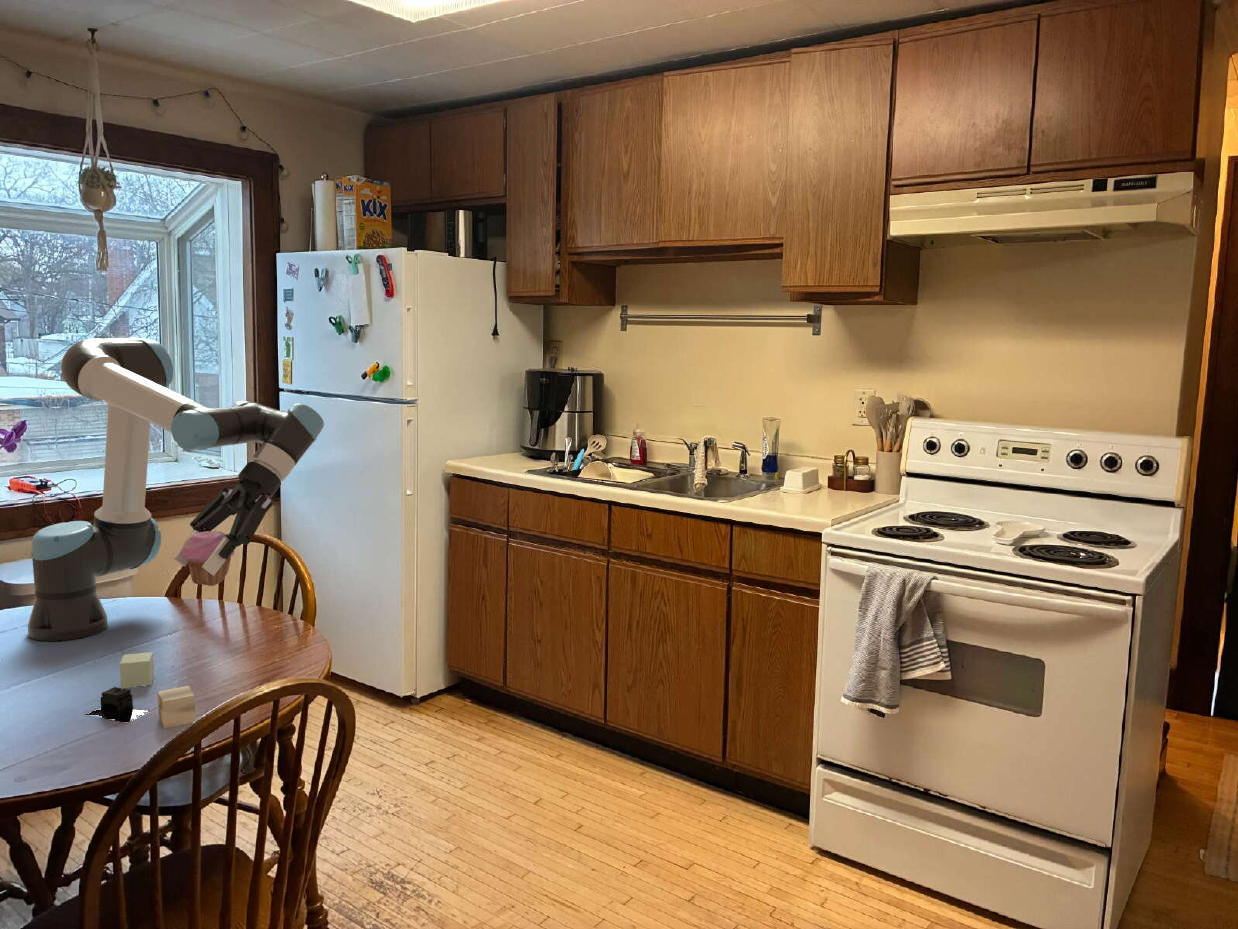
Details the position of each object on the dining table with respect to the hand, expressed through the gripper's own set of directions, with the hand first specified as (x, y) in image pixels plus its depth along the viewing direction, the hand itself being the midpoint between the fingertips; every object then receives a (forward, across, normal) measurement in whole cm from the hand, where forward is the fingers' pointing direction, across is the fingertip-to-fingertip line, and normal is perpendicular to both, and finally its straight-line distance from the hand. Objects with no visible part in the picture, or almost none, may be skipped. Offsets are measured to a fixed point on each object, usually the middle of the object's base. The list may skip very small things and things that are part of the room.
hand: (193, 566), depth 173 cm
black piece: (+28, +1, -7) cm, 29 cm away
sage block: (+21, +12, -13) cm, 27 cm away
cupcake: (+1, 0, -5) cm, 5 cm away
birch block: (+24, -10, -10) cm, 28 cm away
